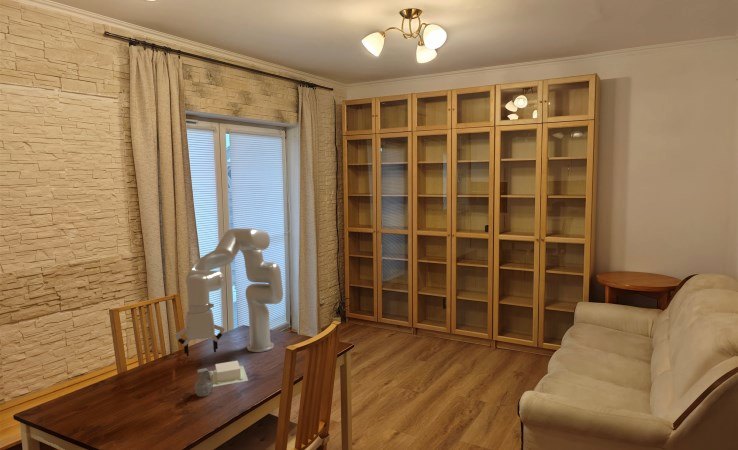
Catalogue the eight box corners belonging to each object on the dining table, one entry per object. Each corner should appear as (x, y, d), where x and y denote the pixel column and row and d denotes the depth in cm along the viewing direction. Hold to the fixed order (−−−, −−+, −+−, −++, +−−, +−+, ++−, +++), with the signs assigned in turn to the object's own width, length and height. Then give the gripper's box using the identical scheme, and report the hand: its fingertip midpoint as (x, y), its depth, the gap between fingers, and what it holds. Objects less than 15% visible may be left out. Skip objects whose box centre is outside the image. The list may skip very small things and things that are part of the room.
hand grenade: (196, 403, 176) (194, 374, 174) (194, 396, 181) (192, 368, 180) (214, 398, 179) (213, 370, 177) (212, 392, 184) (210, 365, 182)
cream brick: (215, 373, 198) (215, 364, 197) (238, 369, 201) (237, 360, 201) (217, 382, 189) (217, 372, 189) (240, 378, 193) (240, 368, 192)
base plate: (209, 374, 200) (208, 370, 200) (243, 368, 205) (243, 364, 205) (211, 390, 185) (211, 386, 185) (248, 384, 191) (248, 379, 190)
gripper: (222, 303, 182) (224, 346, 184) (173, 308, 176) (176, 353, 178) (224, 308, 175) (226, 352, 177) (173, 313, 169) (176, 360, 171)
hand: (201, 353), depth 177 cm, fingers open, 9 cm apart
